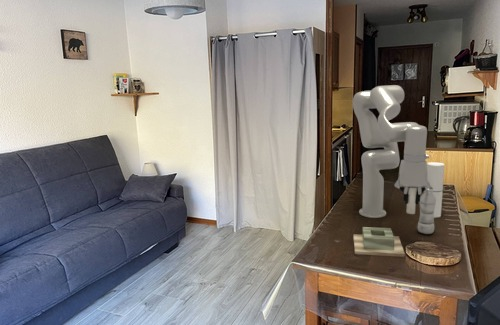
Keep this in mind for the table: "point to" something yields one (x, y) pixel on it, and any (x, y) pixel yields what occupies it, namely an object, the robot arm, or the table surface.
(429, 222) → the plastic bottle
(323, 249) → the table surface
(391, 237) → the socket
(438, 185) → the cylindrical container
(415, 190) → the peg
